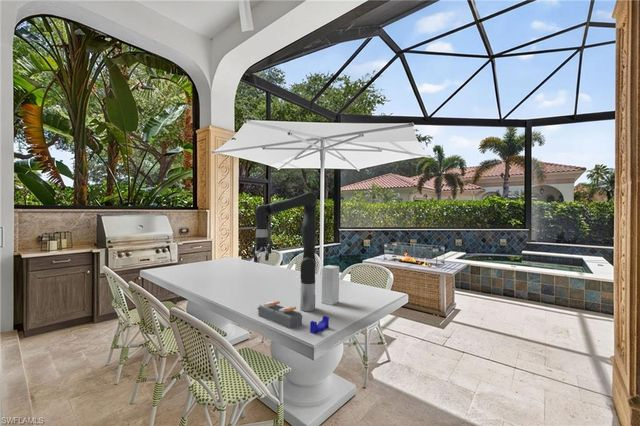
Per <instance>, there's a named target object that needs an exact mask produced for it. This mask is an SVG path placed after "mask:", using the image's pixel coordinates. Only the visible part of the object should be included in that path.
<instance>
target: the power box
mask: <svg viewBox="0 0 640 426" xmlns="http://www.w3.org/2000/svg"><path fill="white" fill-rule="evenodd" d="M282 308H285V306H283V305H282V306H281V305H279V304H276V305H269V306H264V305H262V304H259V306H258V307H257V310H258V316H259V317H261V318H263V319H266V320H267V321H271V322H272V323H275V324H278V325H281V326H282V327H286V328H288V329H293V328H296V327H298V326H301V325H302V324H303V315H302V312H300V311H296V310H291V311H279V309H282Z"/></svg>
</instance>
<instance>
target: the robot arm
mask: <svg viewBox="0 0 640 426" xmlns="http://www.w3.org/2000/svg"><path fill="white" fill-rule="evenodd" d="M317 202H318V197H317V195H316V194H315V193H314V192H313V191H307V192H305V193H303V194H301V195H297V196H295V197H291V198H287V199H281V200H278V201H274V202H271V203H268V204H261V205H257V207H256V208H255V219H256V225H255V226H256V228H255V229H256V230H255V245H252V246H251V248H250V249H251V250H250V251H251V253H250V255H251V256H253V262H254V263H258V255H259V254H260V253H264V254H265V256H264V261H269V256H270V255H272V244H268V241H269V240H268V233H269V232H268V220H267V216H269V215H271V214H277V213H281V212H285V211H289V210H291V209H295V208H299V207H300V208H301V207H303V210H304V211H303V219H302V226H301V240H302V246H303V256H302V261H301V263H300V305H299V307H300V311H303V312H313V311H316V267H317V265H316V264H317V262H316V261H317V260H316V250H315V249H316V244H317V243H316V241H317V219H316V218H317V217H316V212H317V211H316V210H317Z"/></svg>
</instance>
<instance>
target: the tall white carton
mask: <svg viewBox="0 0 640 426" xmlns="http://www.w3.org/2000/svg"><path fill="white" fill-rule="evenodd" d="M339 296H340V266H339V265H333V264H332V265H331V264H328V265H327V264H326V265H325V266H322V268H321V304H326V305H329V306H333V305H336V304H338V303H339V299H340V297H339Z"/></svg>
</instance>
